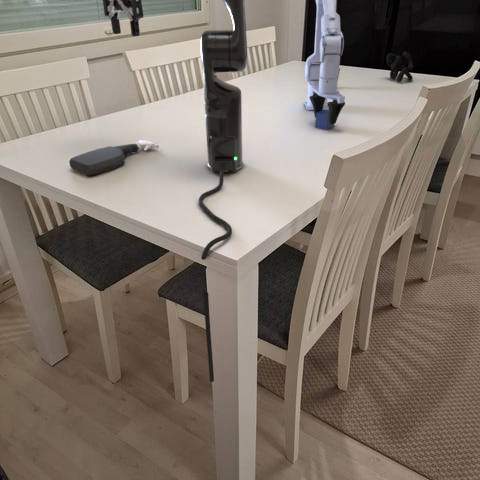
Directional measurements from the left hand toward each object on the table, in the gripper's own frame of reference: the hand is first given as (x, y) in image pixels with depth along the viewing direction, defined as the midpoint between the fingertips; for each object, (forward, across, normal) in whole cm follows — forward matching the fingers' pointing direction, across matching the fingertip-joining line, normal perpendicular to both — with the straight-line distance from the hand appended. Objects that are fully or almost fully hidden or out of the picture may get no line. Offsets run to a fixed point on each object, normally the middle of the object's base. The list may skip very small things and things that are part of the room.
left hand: (126, 34), depth 124 cm
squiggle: (+30, -30, -122) cm, 130 cm away
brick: (+30, -39, -45) cm, 67 cm away
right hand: (+28, -39, -45) cm, 66 cm away
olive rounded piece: (+30, -13, -91) cm, 97 cm away
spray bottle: (+30, -9, +15) cm, 35 cm away
